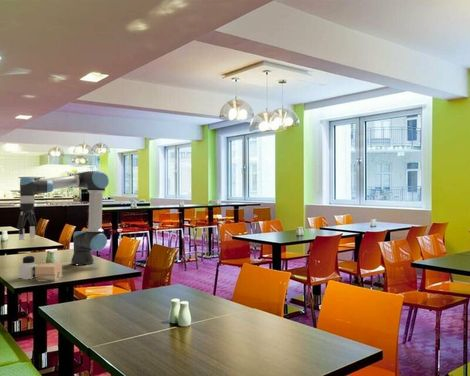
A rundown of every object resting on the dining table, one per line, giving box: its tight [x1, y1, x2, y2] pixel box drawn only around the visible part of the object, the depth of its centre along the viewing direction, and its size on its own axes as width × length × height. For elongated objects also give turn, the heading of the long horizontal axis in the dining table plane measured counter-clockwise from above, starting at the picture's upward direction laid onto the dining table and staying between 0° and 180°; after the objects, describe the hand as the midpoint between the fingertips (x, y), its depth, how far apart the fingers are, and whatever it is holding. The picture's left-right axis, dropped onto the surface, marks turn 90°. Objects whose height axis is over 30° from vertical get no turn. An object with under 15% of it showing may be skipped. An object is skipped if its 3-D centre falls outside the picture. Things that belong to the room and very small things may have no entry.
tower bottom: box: [35, 270, 63, 281], centre depth 260 cm, size 11×11×4 cm
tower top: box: [35, 262, 63, 274], centre depth 260 cm, size 11×11×4 cm
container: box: [18, 255, 39, 279], centre depth 263 cm, size 8×8×13 cm
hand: (27, 238), depth 263 cm, fingers open, 13 cm apart
